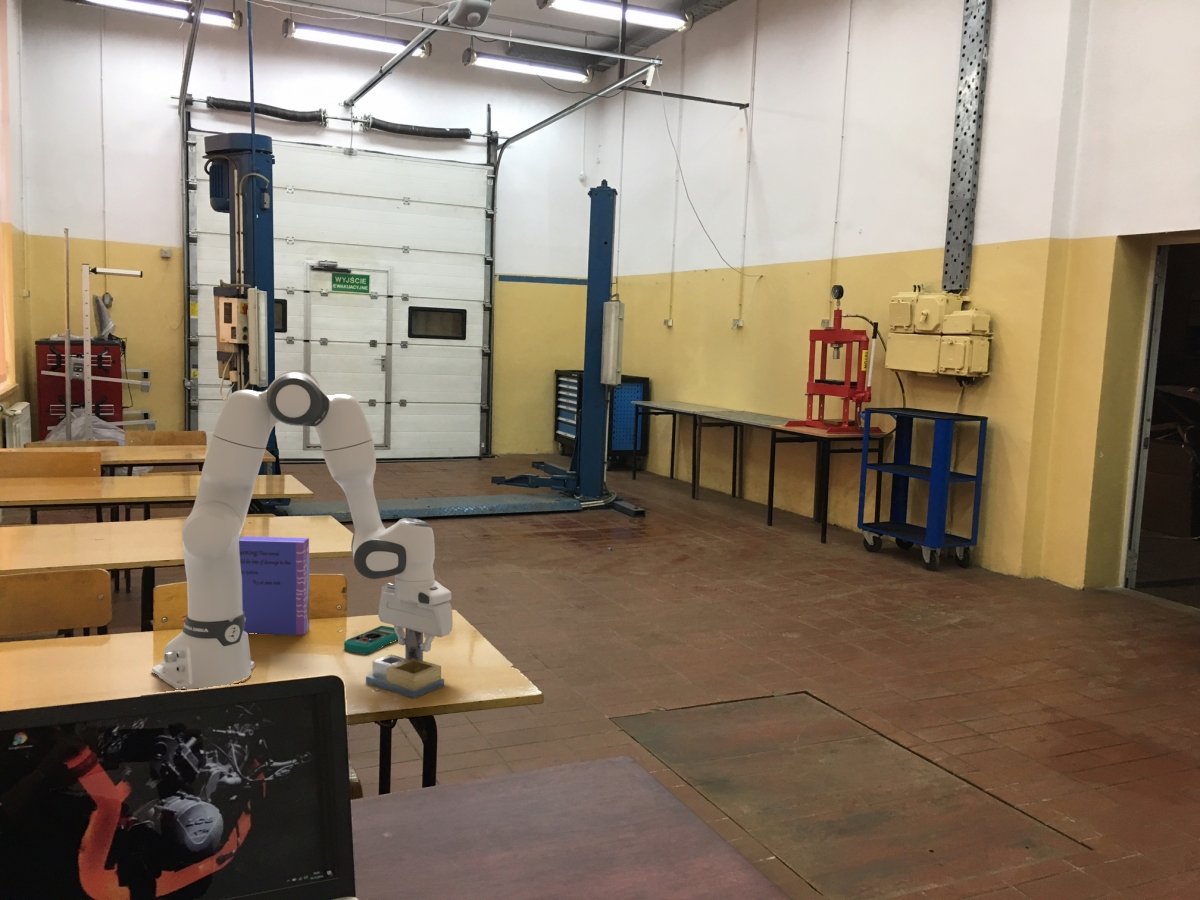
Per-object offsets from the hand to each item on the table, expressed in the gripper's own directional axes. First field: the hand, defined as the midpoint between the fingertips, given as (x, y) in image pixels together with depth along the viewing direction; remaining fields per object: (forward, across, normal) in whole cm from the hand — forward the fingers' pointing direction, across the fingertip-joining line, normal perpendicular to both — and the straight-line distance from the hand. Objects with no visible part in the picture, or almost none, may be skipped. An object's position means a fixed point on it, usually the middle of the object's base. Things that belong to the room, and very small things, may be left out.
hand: (414, 647), depth 220 cm
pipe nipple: (+4, 0, 0) cm, 4 cm away
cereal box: (+4, -45, -4) cm, 45 cm away
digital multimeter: (+5, -18, +5) cm, 20 cm away
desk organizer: (+4, +7, -10) cm, 13 cm away
